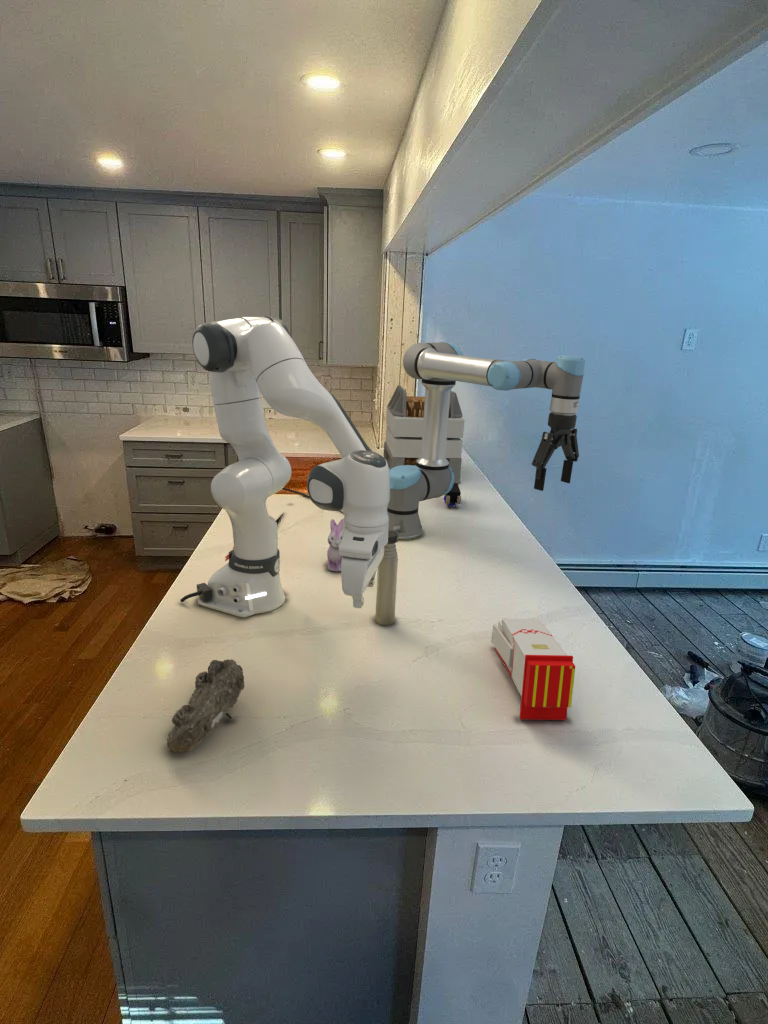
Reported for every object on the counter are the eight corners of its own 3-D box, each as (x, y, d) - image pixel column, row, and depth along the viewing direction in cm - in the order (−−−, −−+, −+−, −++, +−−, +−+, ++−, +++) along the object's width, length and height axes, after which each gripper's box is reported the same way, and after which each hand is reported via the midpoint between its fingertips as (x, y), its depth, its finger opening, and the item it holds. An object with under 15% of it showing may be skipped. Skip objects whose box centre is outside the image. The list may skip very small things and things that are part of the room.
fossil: (192, 660, 117) (244, 628, 112) (224, 691, 120) (276, 661, 115) (142, 746, 98) (202, 712, 93) (182, 779, 101) (242, 748, 96)
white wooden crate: (382, 463, 289) (386, 382, 275) (445, 464, 293) (451, 384, 279) (390, 482, 257) (394, 392, 243) (460, 483, 261) (468, 394, 247)
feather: (291, 507, 225) (293, 503, 224) (273, 530, 198) (276, 526, 198) (287, 504, 224) (289, 500, 224) (269, 528, 198) (272, 523, 197)
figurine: (332, 575, 167) (332, 527, 162) (319, 561, 175) (319, 516, 170) (361, 569, 171) (362, 523, 166) (347, 556, 179) (348, 512, 174)
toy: (537, 603, 136) (584, 662, 106) (532, 655, 138) (577, 726, 109) (487, 602, 135) (520, 661, 106) (483, 654, 138) (514, 725, 109)
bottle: (391, 614, 147) (396, 530, 139) (396, 624, 143) (401, 538, 135) (373, 616, 146) (376, 531, 138) (377, 626, 141) (381, 539, 133)
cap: (394, 536, 139) (395, 529, 139) (399, 543, 135) (400, 536, 135) (378, 537, 138) (378, 530, 138) (382, 544, 134) (382, 537, 134)
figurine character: (461, 513, 227) (456, 497, 240) (463, 496, 223) (458, 481, 237) (444, 512, 226) (440, 496, 240) (446, 495, 223) (442, 480, 237)
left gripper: (364, 514, 123) (362, 572, 127) (335, 551, 104) (335, 617, 108) (392, 517, 121) (389, 576, 126) (369, 555, 102) (367, 622, 107)
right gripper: (548, 419, 148) (537, 496, 155) (598, 411, 163) (586, 482, 171) (525, 414, 153) (515, 489, 160) (575, 407, 169) (564, 476, 176)
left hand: (364, 595), depth 117 cm, fingers open, 8 cm apart
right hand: (552, 485), depth 166 cm, fingers open, 13 cm apart
